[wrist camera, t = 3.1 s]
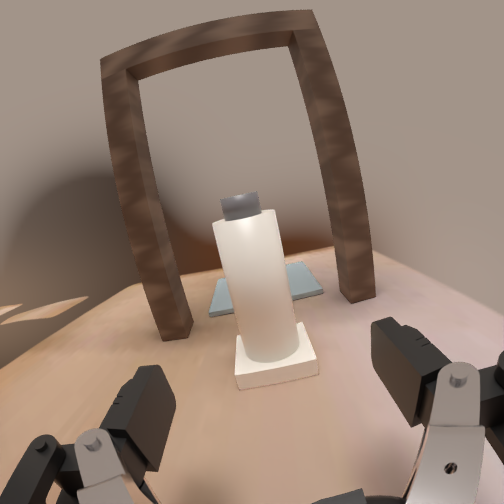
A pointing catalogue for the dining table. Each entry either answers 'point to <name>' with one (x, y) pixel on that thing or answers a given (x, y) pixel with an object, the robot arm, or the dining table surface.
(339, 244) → the archway
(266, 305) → the white tall cylinder
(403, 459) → the dining table surface
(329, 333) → the dining table surface
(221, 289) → the mat
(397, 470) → the dining table surface
